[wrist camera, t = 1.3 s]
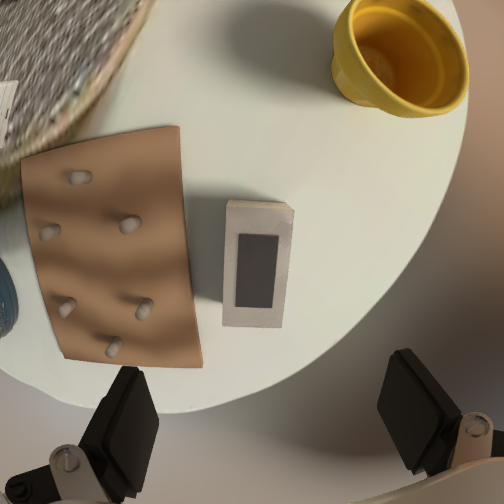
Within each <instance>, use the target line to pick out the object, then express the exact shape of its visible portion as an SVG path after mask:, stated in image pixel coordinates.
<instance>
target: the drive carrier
mask: <svg viewBox="0 0 504 504" xmlns="http://www.w3.org/2000/svg"><path fill="white" fill-rule="evenodd" d="M293 219H294V210H293V209H292V208H291V207H290V206H289V205H288V204H286V203H280V202H265V201H249V200H230V199H229V201H228V203H227V206H226V228H225V252H224V281H223V318H222V326H231V327H255V328H281V327H282V319H283V311H284V303H285V295H286V286H287V278H288V269H289V259H290V250H291V240H292V230H293Z"/></svg>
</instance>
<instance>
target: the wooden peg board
mask: <svg viewBox="0 0 504 504" xmlns="http://www.w3.org/2000/svg"><path fill="white" fill-rule="evenodd" d="M21 176H22V188H23V198H24V207H25V214H26V221H27V227H28V233H29V239H30V244H31V249H32V254H33V259H34V263H35V268H36V272H37V276H38V280H39V284H40V287H41V291H42V295H43V298H44V301H45V305H46V308H47V311H48V314H49V317H50V320H51V323H52V326H53V329H54V332H55V335H56V337H57V340H58V343H59V345H60V348H61V350H62V353H63V355H64V358H65V359H72V360H79V361H87V362H96V363H106V364H116V365H129V366H144V367H166V368H202V366H203V359H202V353H201V346H200V340H199V333H198V327H197V320H196V313H195V305H194V298H193V290H192V282H191V273H190V264H189V255H188V246H187V235H186V225H185V213H184V200H183V186H182V170H181V152H180V127H179V126H170V127H162V128H155V129H148V130H141V131H135V132H129V133H124V134H118V135H113V136H108V137H103V138H98V139H94V140H89V141H85V142H80V143H76V144H72V145H68V146H64V147H61V148H57V149H53V150H50V151H46V152H43V153H39V154H36V155H33V156H30V157H26V158H23V159H21Z"/></svg>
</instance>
